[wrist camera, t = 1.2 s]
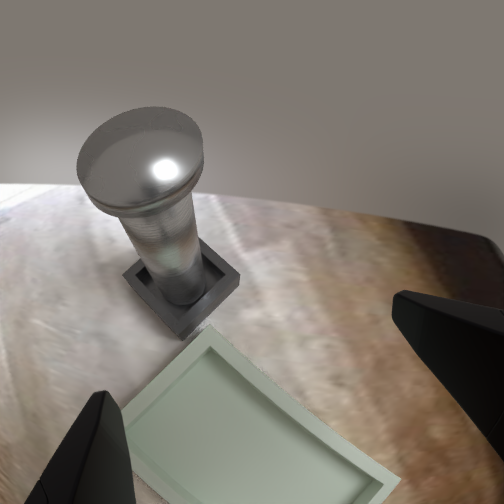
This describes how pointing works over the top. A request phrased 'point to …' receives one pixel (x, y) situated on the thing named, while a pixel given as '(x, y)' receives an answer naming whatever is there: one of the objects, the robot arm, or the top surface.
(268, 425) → the tray
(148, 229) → the pin
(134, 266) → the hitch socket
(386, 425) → the top surface
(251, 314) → the top surface
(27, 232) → the top surface
